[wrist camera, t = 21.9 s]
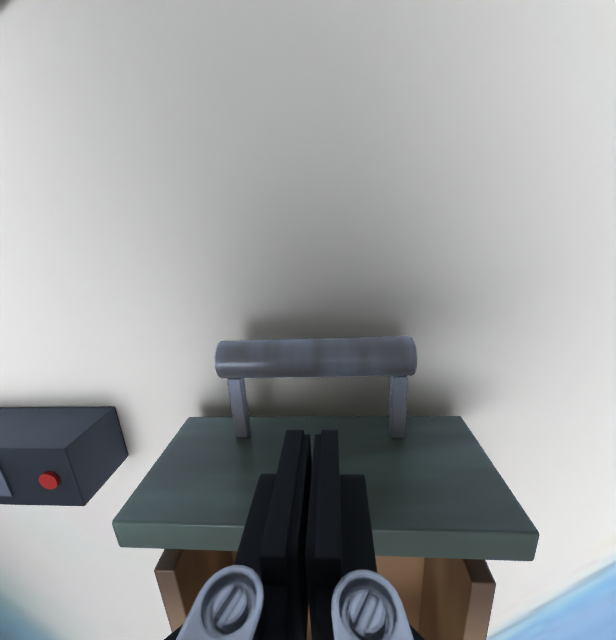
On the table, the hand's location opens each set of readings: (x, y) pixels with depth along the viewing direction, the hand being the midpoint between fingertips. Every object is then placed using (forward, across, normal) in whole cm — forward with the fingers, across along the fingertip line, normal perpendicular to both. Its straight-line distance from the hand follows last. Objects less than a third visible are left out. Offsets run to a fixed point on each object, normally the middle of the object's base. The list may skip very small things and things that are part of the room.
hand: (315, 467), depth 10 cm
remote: (+6, +16, +3) cm, 18 cm away
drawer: (+5, 0, +9) cm, 10 cm away
